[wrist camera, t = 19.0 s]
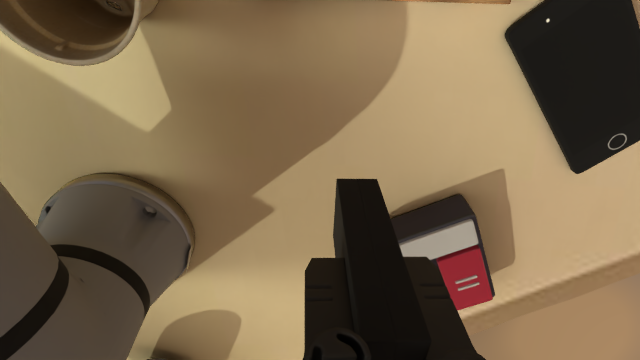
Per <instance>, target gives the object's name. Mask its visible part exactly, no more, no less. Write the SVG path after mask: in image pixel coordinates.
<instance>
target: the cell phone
mask: <svg viewBox="0 0 640 360" xmlns="http://www.w3.org/2000/svg"><path fill="white" fill-rule="evenodd" d="M505 38H506V40H507V42H508V44H509V46H510V48H511V50H512V52H513V54H514V56H515V58H516V60H517V62H518V64H519V66H520V68H521V70H522V72H523V74H524V76H525V78H526V80H527V82H528V84H529V86H530V88H531V90H532V92H533V94H534V96H535V98H536V100H537V102H538V104H539V106H540V108H541V110H542V112H543V114H544V116H545V118H546V120H547V122H548V124H549V126H550V128H551V130H552V132H553V134H554V136H555V138H556V140H557V142H558V144H559V146H560V148H561V150H562V152H563V154H564V156H565V158H566V160H567V162H568V164H569V166H570V169H571V170H572V171H573V172H574V173H576V174H579V173H582V172H584V171H586V170H588V169H589V168H591V167H593V166H595V165H597V164H598V163H600V162H602V161H604V160H606V159H607V158H609V157H611V156H613V155H614V154H616V153H618V152H620V151H622V150H623V149H625V148H627V147H629V146H631V145H632V144H634V143H636V142H638V141H639V140H640V28H639V24H638V21H637V18H636V14H635V11H634V7H633V4H632V1H631V0H545V1H544V2H543V3H541V4H540V5H539V6H537V7H536V8H534V9H533V10H532V11H530V12H529V13H528V14H526V15H525V16H524V17H522V18H521V19H519V20H518V21H517V22H515V23H514V24H513V25H511V26H510V27H509V28H508V29H507V30H506V32H505Z"/></svg>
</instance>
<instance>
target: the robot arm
mask: <svg viewBox="0 0 640 360" xmlns="http://www.w3.org/2000/svg"><path fill="white" fill-rule="evenodd" d="M333 238H334V248H335V258H312V259H311V261H310V263H309V264H308V266H307V268H306V270H305V352H304V358H303V360H486V359H485V358H483V357H482V356H481V355H479V354H478V353H477V352H476V350H475V349H474V347H473V345H472V343H471V341H470V338H469V336H468V334H467V332H466V329H465V327H464V325H463V323H462V320H461V318H460V316H459V314H458V311H457V309H456V307H455V305H454V302H453V300H452V299H451V298H450V293H449V291H448V289H447V287H446V286H445V282H444V280H443V278H442V275H441V273H440V271H439V269H438V268H437V267H436V266H435V265H434V264H433V263H432V262H431V261H430V260H429V259H428V258H427V257H403V255H402V252H401V249H400V246H399V243H398V240H397V237H396V234H395V231H394V228H393V225H392V222H391V219H390V216H389V213H388V210H387V207H386V204H385V202H384V199H383V196H382V193H381V190H380V187H379V184H378V181H377V179H337V183H336V199H335V215H334V231H333ZM194 243H195V237H194V231H193V227H192V225H191V222H190V220H189V218H188V216H187V215H186V213H185V212H184V211H183V209H182V208H181V207H180V206H179V205H178V204H177V203H176V202H175V201H174V200H173V199H172V198H171V197H170V196H168V195H167V194H166V193H164V192H163V191H161V190H159V189H158V188H156V187H154V186H152V185H150V184H148V183H146V182H144V181H141V180H138V179H135V178H132V177H128V176H123V175H117V174H93V175H87V176H83V177H80V178H77V179H75V180H72V181H71V182H69V183H67V184H66V185H65V186H63V187H62V188H61V189H60V190H59V191H58V192H56V193H55V194H54V195H53V196H52V197H51V198H50V199H49V200H48V201H47V202H46V204H45V205H44V207H43V209H42V211H41V215H40V217H39V220H38V224H37V225H36V227H35V226H34V224H33V223H32V222H31V221H30V219H29V218H28V217H27V215H26V214H25V213H24V212H23V210H22V209H21V208H20V207H19V205H18V204H17V203H16V201H15V200H14V199H13V198H12V196H11V195H10V194H9V192H8V191H7V190H6V189H5V187H4V186H3V185H2V184H1V182H0V360H126V359H127V357H128V355H129V352H130V350H131V348H132V345H133V343H134V341H135V339H136V336H137V334H138V332H139V330H140V327H141V325H142V323H143V320H144V318H145V316H146V314H147V312H148V310H149V308H150V306H151V305H152V304H153V303H154V302H155V301H156V300H157V299H158V298H159V296H160V295H161V294H162V293H163V292H164V291H165V290H166V289H167V288H168V287H169V286H170V285H171V283H172V282H173V281H174V280H176V279H177V278H178V277H179V276H180V275H181V274H182V273H183V272H184V270H185V269H186V267H187V270H188V267H189V263H190V257H191V255H192V252H193V249H194ZM187 270H186V272H187Z"/></svg>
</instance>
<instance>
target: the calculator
mask: <svg viewBox="0 0 640 360" xmlns="http://www.w3.org/2000/svg"><path fill="white" fill-rule="evenodd" d="M391 222H392V225H393V228H394V231H395V234H396V237H397V240H398V243H399V246H400V249H401V252H402V255H403V257H427V258H428V259H429V260H430V261H431V262H432V263H433V264H434V265H435V266H436V267H437V268H438V269H439V271H440V273H441V275H442V278H443V280H444V282H445V286H446V287H447V289H448V291H449V293H450V298H451V299H452V300H453V302H454V305H455V307H456V309H457V310H461V309H464V308H467V307H470V306H474V305H477V304H480V303H484V302H487V301H490V300H492V299H493V297H494V296H495V292H494V288H493V284H492V280H491V276H490V272H489V268H488V264H487V260H486V256H485V251H484V247H483V243H482V239H481V235H480V231H479V227H478V223H477V219H476V216H475V214H474V212H473V211H472V209H471V208H470V206H469V205H468V203H467V202H466V200H465V199H464V197H463V196H462V195H460V194H459V195H455V196H453V197H450V198H447V199H444V200H442V201H439V202H436V203H434V204H431V205H428V206H425V207H423V208H420V209H417V210H414V211H412V212H409V213H406V214H403V215H401V216H398V217H395V218H392V219H391Z"/></svg>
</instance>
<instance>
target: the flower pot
mask: <svg viewBox="0 0 640 360" xmlns="http://www.w3.org/2000/svg"><path fill="white" fill-rule="evenodd" d="M107 1H109V2H112V3H114V2H115V4H117V5H119V6H121V10H119V9H116V8H114V7H111V6H110V5H109V4H108V3H107ZM158 1H159V0H0V30H1V31H2V32H3V33H4V34H5V35H6V36H8V37H9V38H10V39H11V40H12V41H14V42H16V43H17V44H18V45H20V46H21V47H23V48H25V49H26V50H28V51H30V52H32V53H34V54H35V55H37V56H40V57H42V58H45V59H47V60H50V61H54V62H57V63H62V64H66V65H73V66H85V65H94V64H98V63H102V62H105V61H107V60H109V59H111V58H113V57H115V56H116V55H117V54H119V53H120V52H121V51H122V50H123V49H124V48H125V47H126V46H127V45H128V44H129V42H130V41H131V40H132V38H133V37H134V35H135V32H136V30H137V28H138V25H139V22H140V21H141V20H142V19H143V18H144V17H145V16H147V15H148V14H149V13H150V12H152V10H153V9H154V8H155V7H156V5H157V3H158Z"/></svg>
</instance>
